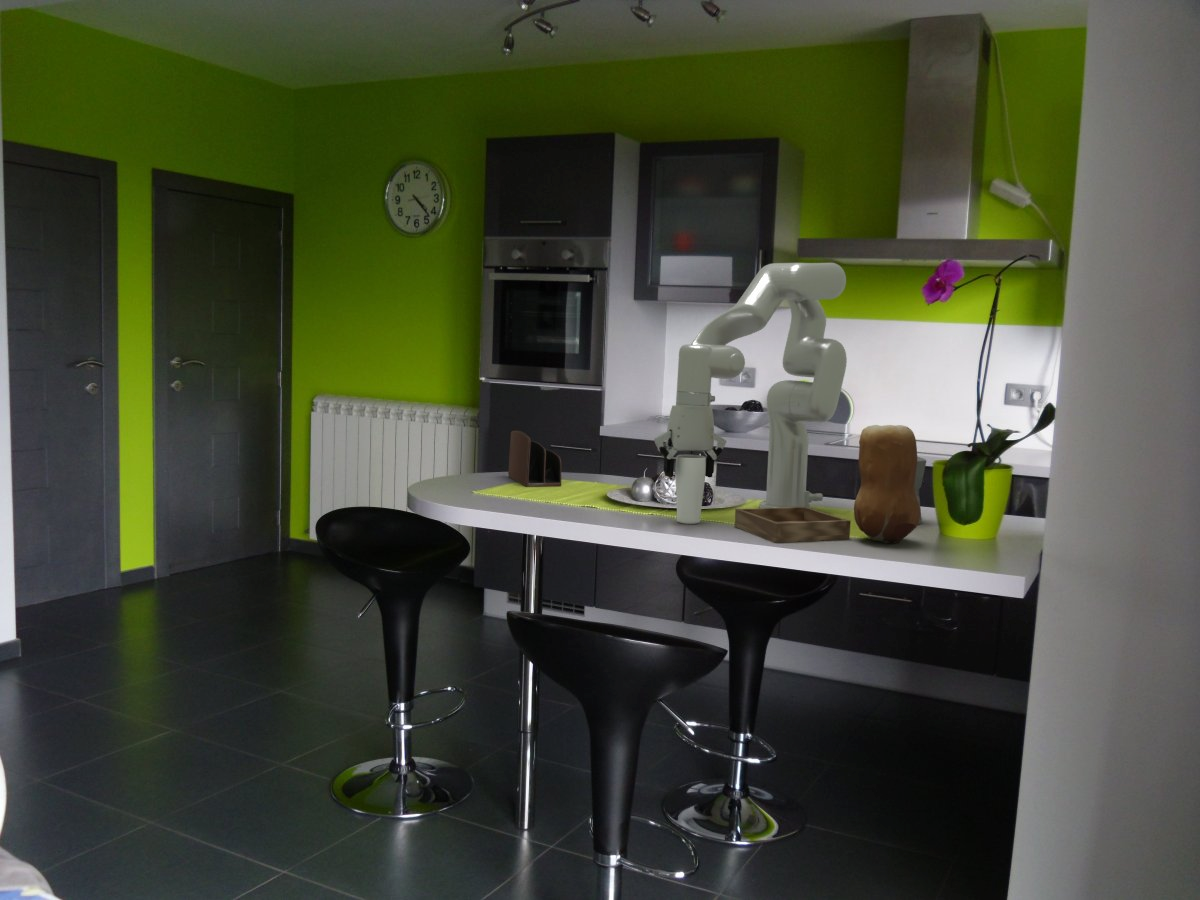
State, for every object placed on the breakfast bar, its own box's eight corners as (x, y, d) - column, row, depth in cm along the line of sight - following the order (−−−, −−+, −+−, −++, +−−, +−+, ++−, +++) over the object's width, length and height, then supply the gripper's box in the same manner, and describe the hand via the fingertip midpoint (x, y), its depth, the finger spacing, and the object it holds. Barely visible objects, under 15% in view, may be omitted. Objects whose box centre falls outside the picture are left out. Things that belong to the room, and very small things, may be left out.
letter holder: (526, 487, 290) (527, 435, 288) (507, 477, 308) (509, 427, 307) (561, 487, 293) (563, 435, 291) (541, 476, 311) (543, 427, 310)
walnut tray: (804, 523, 248) (805, 506, 247) (849, 539, 231) (850, 520, 231) (734, 526, 241) (735, 509, 241) (775, 542, 225) (776, 523, 224)
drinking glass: (701, 525, 241) (704, 459, 239) (671, 523, 242) (674, 457, 241) (705, 520, 248) (707, 455, 246) (675, 518, 249) (678, 453, 247)
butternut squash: (872, 533, 239) (879, 420, 236) (929, 543, 230) (937, 425, 227) (839, 540, 229) (846, 422, 226) (896, 551, 220) (904, 428, 217)
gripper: (720, 400, 248) (715, 474, 250) (650, 398, 242) (646, 474, 244) (735, 402, 241) (730, 478, 243) (664, 400, 235) (660, 478, 237)
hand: (688, 476), depth 243 cm, fingers open, 9 cm apart
